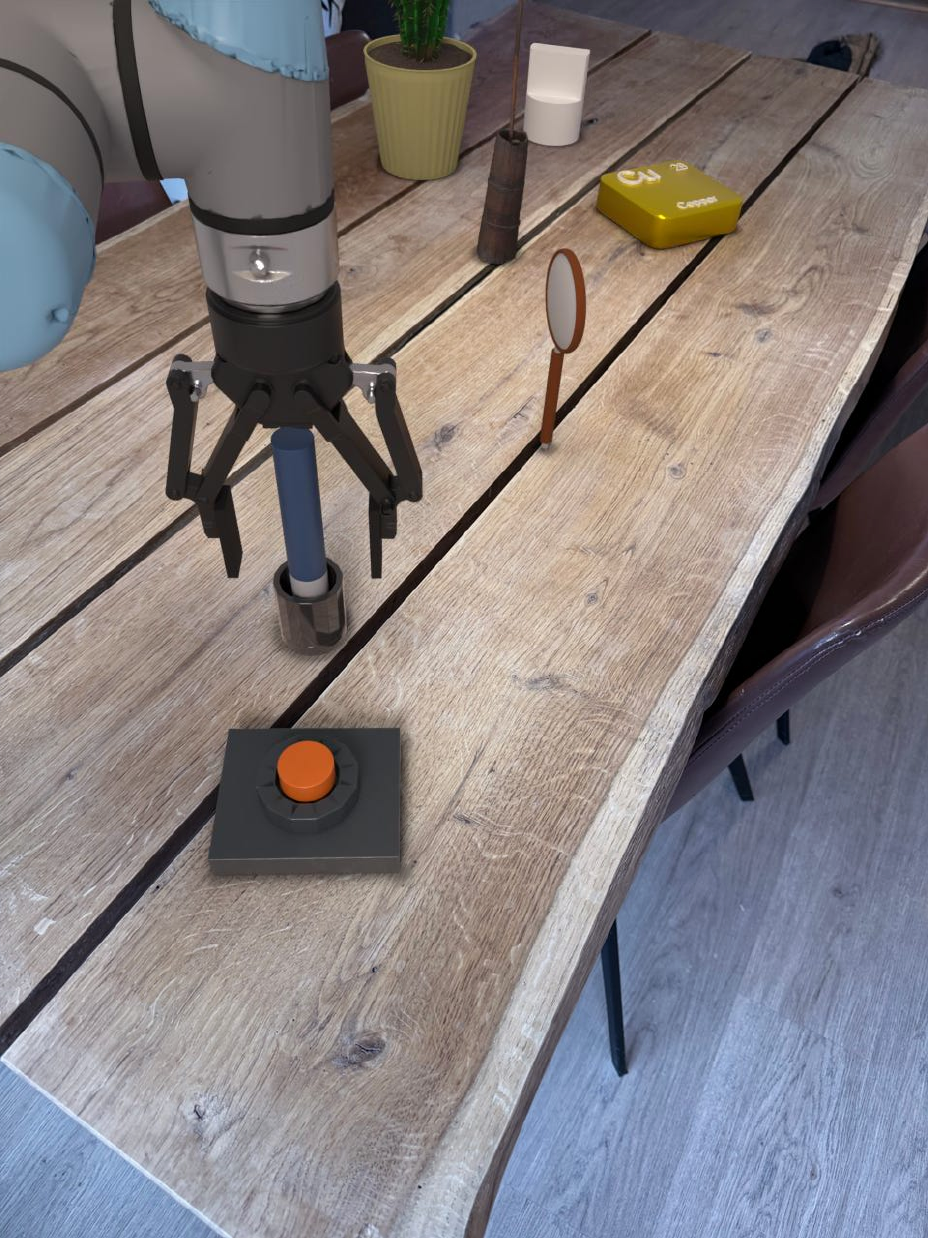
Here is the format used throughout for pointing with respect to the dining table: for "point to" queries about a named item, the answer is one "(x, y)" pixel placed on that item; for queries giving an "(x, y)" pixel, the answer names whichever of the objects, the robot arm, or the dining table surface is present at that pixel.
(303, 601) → the holder
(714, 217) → the element tile
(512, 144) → the butter churn
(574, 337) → the magnifying glass
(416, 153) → the potted cactus
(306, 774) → the button
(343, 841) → the station
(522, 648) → the dining table surface
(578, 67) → the base with upright slab
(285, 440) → the pen
